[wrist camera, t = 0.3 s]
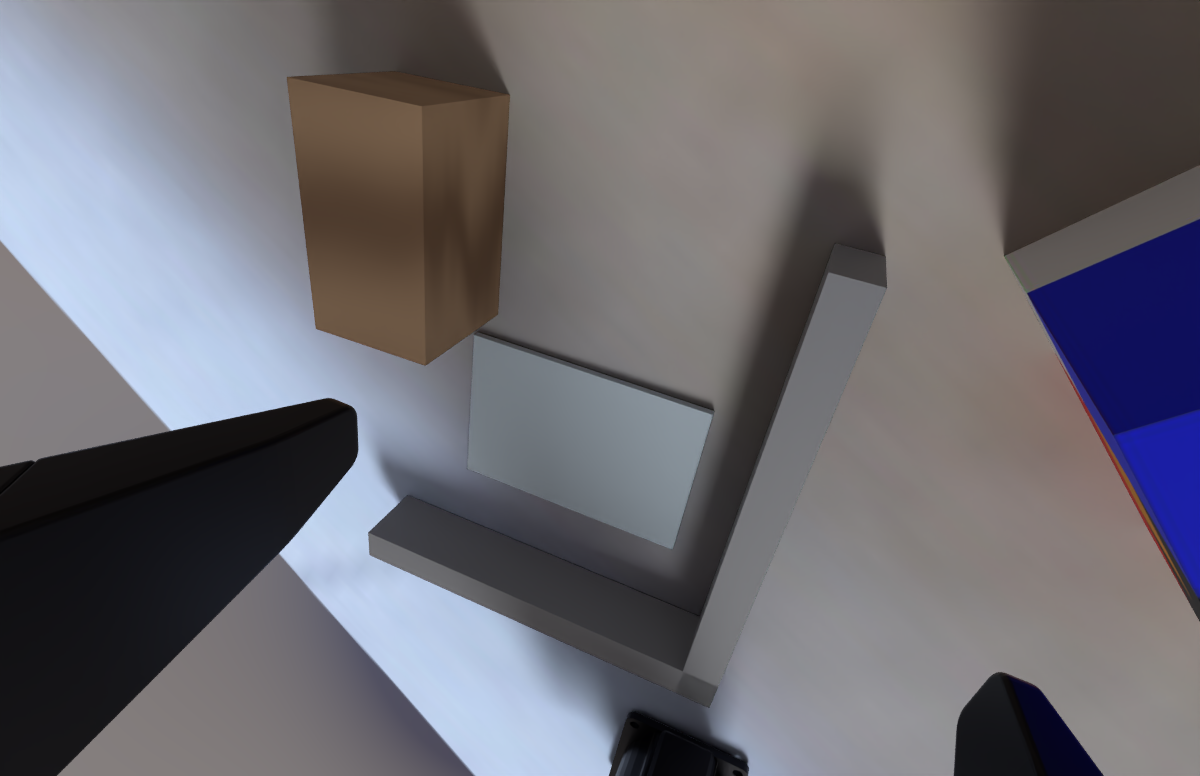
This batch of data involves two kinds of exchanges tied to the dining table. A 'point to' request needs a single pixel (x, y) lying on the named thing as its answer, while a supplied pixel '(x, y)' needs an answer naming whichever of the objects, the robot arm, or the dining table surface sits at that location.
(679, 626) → the grey angle bracket
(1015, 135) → the dining table surface
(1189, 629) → the dining table surface
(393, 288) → the walnut block
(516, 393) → the mat
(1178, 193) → the puzzle toy
